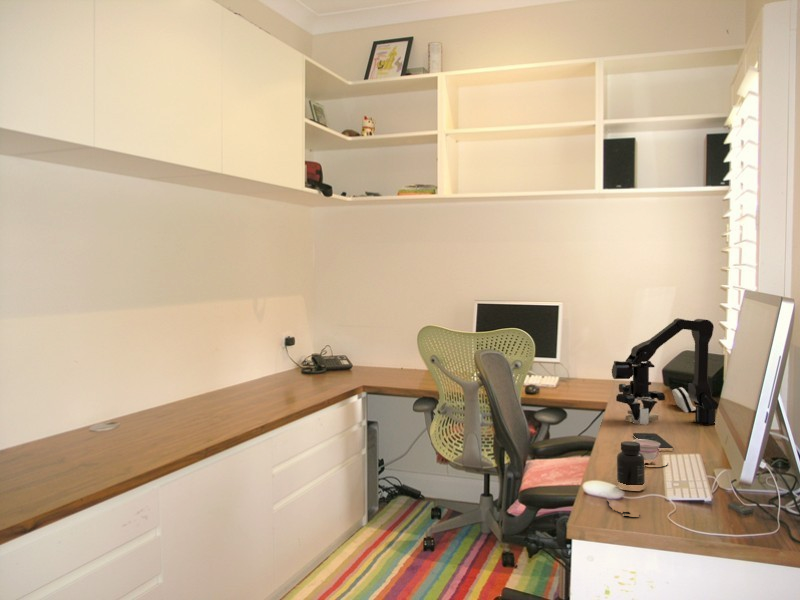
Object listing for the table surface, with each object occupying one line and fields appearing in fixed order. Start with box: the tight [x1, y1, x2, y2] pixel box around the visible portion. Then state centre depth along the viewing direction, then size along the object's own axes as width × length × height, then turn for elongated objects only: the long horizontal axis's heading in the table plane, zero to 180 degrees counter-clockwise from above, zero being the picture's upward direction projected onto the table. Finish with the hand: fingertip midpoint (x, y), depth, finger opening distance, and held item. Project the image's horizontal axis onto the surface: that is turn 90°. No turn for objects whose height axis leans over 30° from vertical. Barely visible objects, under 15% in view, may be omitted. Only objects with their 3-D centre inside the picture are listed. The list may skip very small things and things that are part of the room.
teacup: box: [631, 438, 661, 460], centre depth 192 cm, size 12×12×6 cm
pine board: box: [624, 412, 659, 423], centre depth 249 cm, size 4×13×2 cm, turn 111°
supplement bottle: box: [616, 440, 646, 485], centre depth 168 cm, size 7×7×12 cm
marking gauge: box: [627, 406, 650, 425], centre depth 246 cm, size 8×4×6 cm, turn 21°
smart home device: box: [632, 432, 674, 449], centre depth 214 cm, size 8×2×20 cm
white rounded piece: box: [671, 387, 696, 414], centre depth 272 cm, size 17×5×10 cm, turn 168°
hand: (640, 419), depth 244 cm, fingers closed on marking gauge, 4 cm apart
